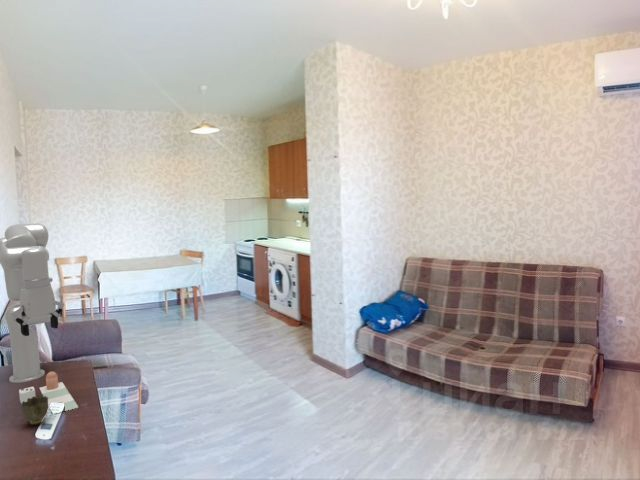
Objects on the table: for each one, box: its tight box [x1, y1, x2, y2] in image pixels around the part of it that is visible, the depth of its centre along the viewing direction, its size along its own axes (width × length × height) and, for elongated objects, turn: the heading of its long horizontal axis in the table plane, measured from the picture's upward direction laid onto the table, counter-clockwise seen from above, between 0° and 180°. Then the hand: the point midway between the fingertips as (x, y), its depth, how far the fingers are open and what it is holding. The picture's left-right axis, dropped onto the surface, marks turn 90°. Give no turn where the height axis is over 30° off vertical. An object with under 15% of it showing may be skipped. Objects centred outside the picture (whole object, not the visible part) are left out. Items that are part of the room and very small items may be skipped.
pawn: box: [45, 371, 59, 390], centre depth 174 cm, size 4×4×6 cm
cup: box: [20, 395, 49, 426], centre depth 146 cm, size 8×7×8 cm
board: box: [39, 381, 79, 412], centre depth 165 cm, size 30×8×1 cm, turn 40°
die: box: [18, 386, 37, 406], centre depth 163 cm, size 4×4×5 cm
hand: (40, 331), depth 154 cm, fingers open, 9 cm apart
